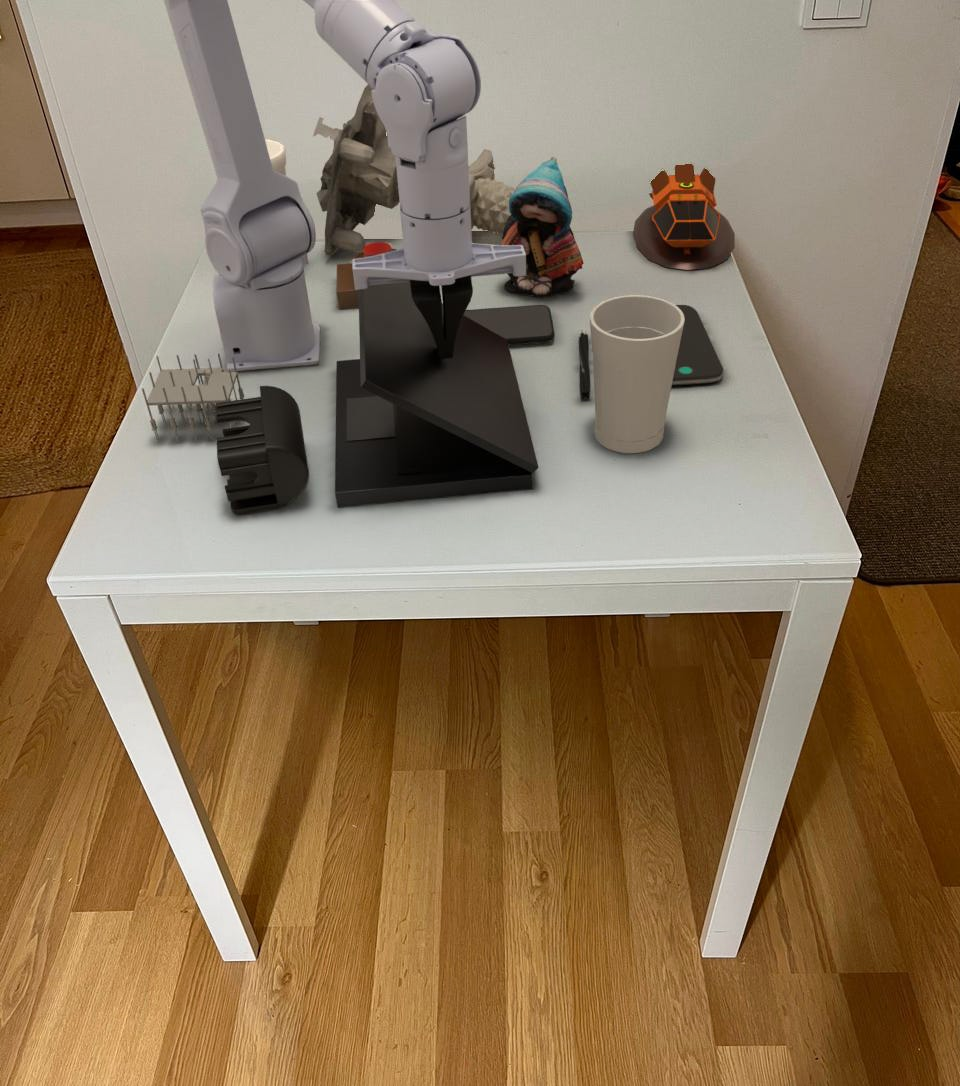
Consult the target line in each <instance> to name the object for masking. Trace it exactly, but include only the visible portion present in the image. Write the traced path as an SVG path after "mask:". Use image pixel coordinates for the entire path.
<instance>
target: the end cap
mask: <svg viewBox="0 0 960 1086" xmlns="http://www.w3.org/2000/svg"><path fill="white" fill-rule="evenodd" d="M259 394H260V396H256V397H249V398H244V399H237V400H236V399H235V400H231V401H228V402H221V403H215V407H216V411H215V420H216V424H222V423H230V422H231V421H234V422H239V421H240V422H243V421H244V423H247V424H248V425H240V426H235V427H234V428H231V427H228V428H222V435H223V436H221V437H216V458H217V463H218V467H219V470H220V475H221V477H224V476H228V479H226V483H227V484H226V485H224V490H225V494H226V498H227V501H228V502H229V505H230V510H231V513H232V514H233V515H236V516H241V515H247V514H253V513H260V512H266V511H272V510H277V509H281V508H282V507H285V506H287V505H288V504H290V502H292V501H294V500H295V499H296V498H297V497H298V498H299V496H300V495H301V494H302V493H303V492H304V490H305V489H306V487H307V485H308V482H309V477H310V473H309V465H308V463H309V462H308V458H307V457H308V456H307V451H306V450H307V449H306V444H305V437H304V430H303V423H302V417H301V411H300V407H299V404H298V403H297V401H296V399H295V397H293V395H292V394H291V393H289V392H287V391H286V390H285V389H282V388H280V387H277V386H274V385H259Z"/></svg>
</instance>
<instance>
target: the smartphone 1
mask: <svg viewBox="0 0 960 1086" xmlns="http://www.w3.org/2000/svg"><path fill="white" fill-rule="evenodd" d="M464 316H466V317H468V318H469V319H471V320H473V321H475V322H476V323H478V324H480V325H482V326H484V327H485V328H487V329H489V330H491V331H493V332H494V333H496V334H498V335H500V336H501V337H503V338H505V339H507V341H508V345H509V346H513V345H524V344H525V345H526V344H539V343H541V344H542V343H548V342H549V343H550V342H551V341H553V340H554V338H555V336H556V335H555V334H556V333H555V328H554V322H553V316H552V310H551V308H550V306H548V305H546V304H532V305H517V306H516V305H515V306H504V307H503V306H502V307H490V308H476V309H466V310H465V312H464Z"/></svg>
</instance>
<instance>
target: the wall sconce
mask: <svg viewBox="0 0 960 1086" xmlns="http://www.w3.org/2000/svg"><path fill="white" fill-rule="evenodd" d="M372 90H373V89H372V88H371V87H370V86H369V85H368V84H367V85H366V86H365V87H364V89H363V91H362V94H361V96H360V99H359V101H358V102H357V105H356V109H355V113H354V115H353V116H352V118H351V119H349V120H347V122H344V123H343V124H342V128H341V129H340V128H336V127H335V128H333V127H331V126H328V125H326V124H324V123H323V122H324V117H322V116H319V118H318V120H317V122H316V126H315V129H314V131H313V135H312V137H316V136H317V135H320V136H322V137H324V138H325V139H328V137H329V139H330V140H331V141H333V149H332V153H331V155H330V157H329V158H328V159H327V161H325V163H324V166H323V168H322V171H321V173H322V174H321V177H320V179H319V180H320V181H321V186H320V189H319V190H318V191H317V192H316V197H317V201H318V203H319V206H320V209H321V212H323V213H324V212H326V216H325V225H324V249H323V252H324V253H325V255H326V256H332V255H333V254H334V253H335V251H336V250H337V249H338V248H340V249H343V250H347V251H351V252H356V253H359V252H362V251H363V248H364V247H365V245H366V244H365V243H366V242H365V238H364V236H363V235H362V234H361V232H358V231H355V229H356V227H357V226H359V225H360V224H361V225H363V226H366V225H367V223H369V222H370V220H371V219H372V218H373V217H374V216H375V215H374V212H375V206H376V204H378V205H381V207H384V208H387V209H390V210H393V209H394V208H396V207H397V206H398V205H400V201H399V190H398V180H397V169H396V159H395V156H394V155H393V154H392V151H391V148H390V147H388V137H387V136H386V128H385V126H384V124H383V122H382V121H381V119H380V117H379V115H378V113H377V111H376V109H375V106H374V102H373V98H372V93H371V91H372ZM493 163H494V156H493V152H492V150H490V149H487V148H485V149H483V150H482V151H481V153H480V155H479V156H477V159H476V160H475V161H474V162H473V163H471V164H470V165H468V167H469V189H470V209H471V231H472V230H473V229H474V227H476V228H477V230H482V231H483V232H484V231H487V232H489V233H491V234H493V233H495V234H500V235H503V232H504V227H505V223H506V222H507V219H508V218H509V217H510V215H511V214H510V212H509V199H510V196H511V194H513V193H514V191H515V190H516V188H515V187H513V186H509V185H508V184H505V182H504V181H497V180H496V178H495V173H494V169H495V170H496V166H495V163H494V164H493ZM494 166H495V167H494Z"/></svg>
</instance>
